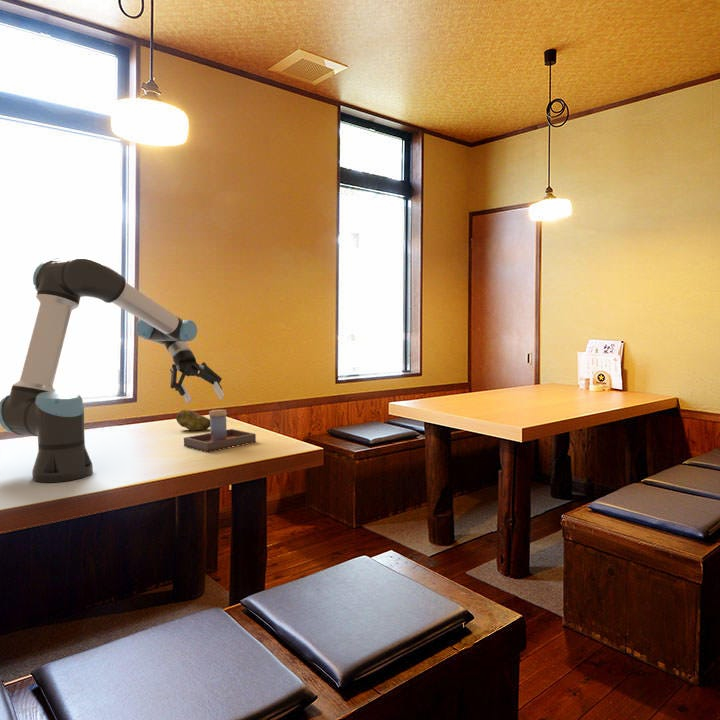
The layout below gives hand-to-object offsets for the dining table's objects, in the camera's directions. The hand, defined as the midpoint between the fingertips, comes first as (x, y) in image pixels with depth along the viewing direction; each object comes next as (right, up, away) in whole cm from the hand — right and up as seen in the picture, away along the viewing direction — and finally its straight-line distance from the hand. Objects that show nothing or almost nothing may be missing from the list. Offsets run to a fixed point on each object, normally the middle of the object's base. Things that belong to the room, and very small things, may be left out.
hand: (206, 399), depth 204 cm
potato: (-11, -14, +21) cm, 27 cm away
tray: (+6, -15, -5) cm, 17 cm away
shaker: (+6, -15, -5) cm, 16 cm away
